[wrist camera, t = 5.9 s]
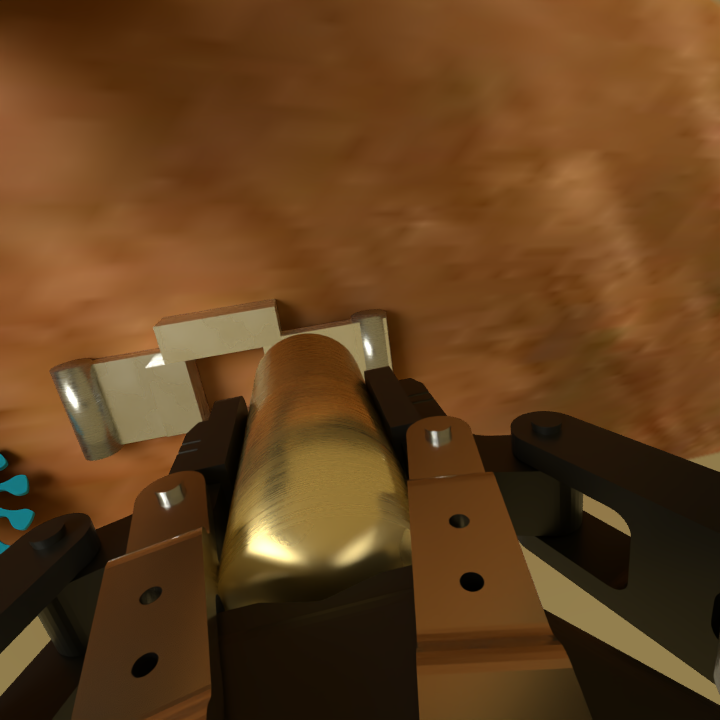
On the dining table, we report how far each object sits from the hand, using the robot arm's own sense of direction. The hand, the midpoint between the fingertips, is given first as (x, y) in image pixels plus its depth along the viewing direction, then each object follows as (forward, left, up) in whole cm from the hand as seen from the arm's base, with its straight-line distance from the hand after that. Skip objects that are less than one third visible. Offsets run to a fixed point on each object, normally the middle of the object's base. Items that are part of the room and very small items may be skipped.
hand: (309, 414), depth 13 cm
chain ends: (+5, -5, -19) cm, 21 cm away
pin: (0, 0, -2) cm, 2 cm away
